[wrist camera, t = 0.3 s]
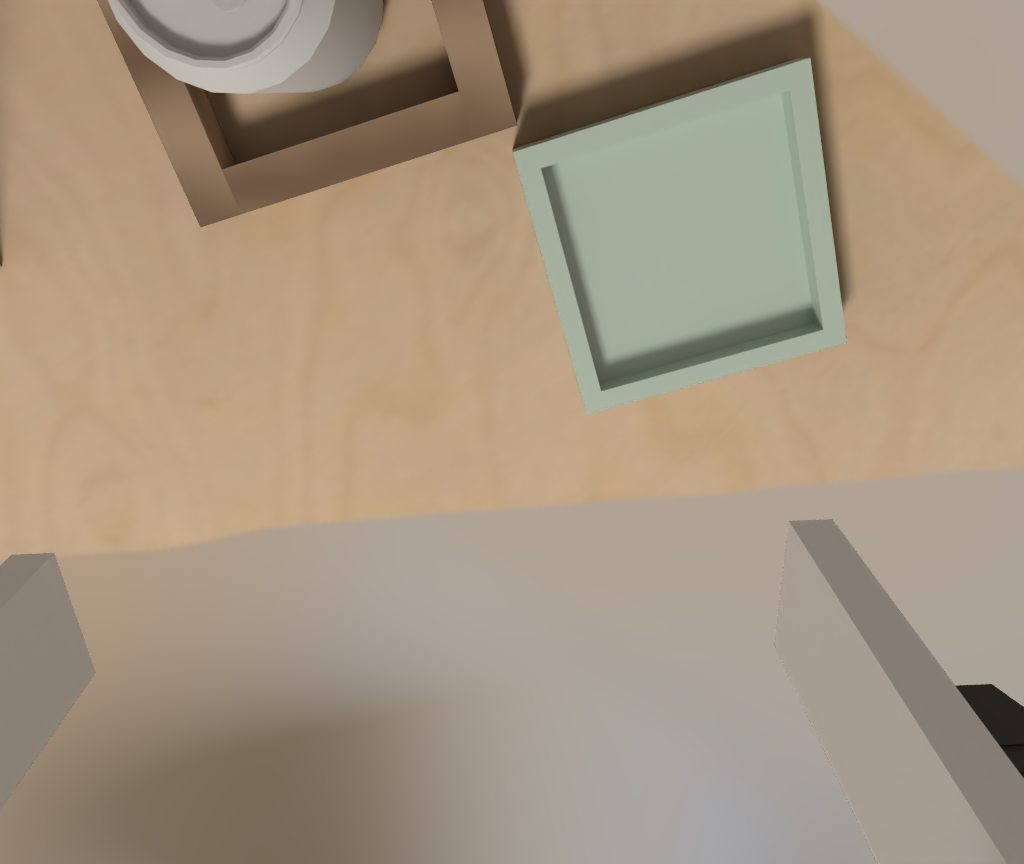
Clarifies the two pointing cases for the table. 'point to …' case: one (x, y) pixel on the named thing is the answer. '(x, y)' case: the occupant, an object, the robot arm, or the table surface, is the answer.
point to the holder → (332, 157)
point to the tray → (689, 236)
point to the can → (254, 41)
